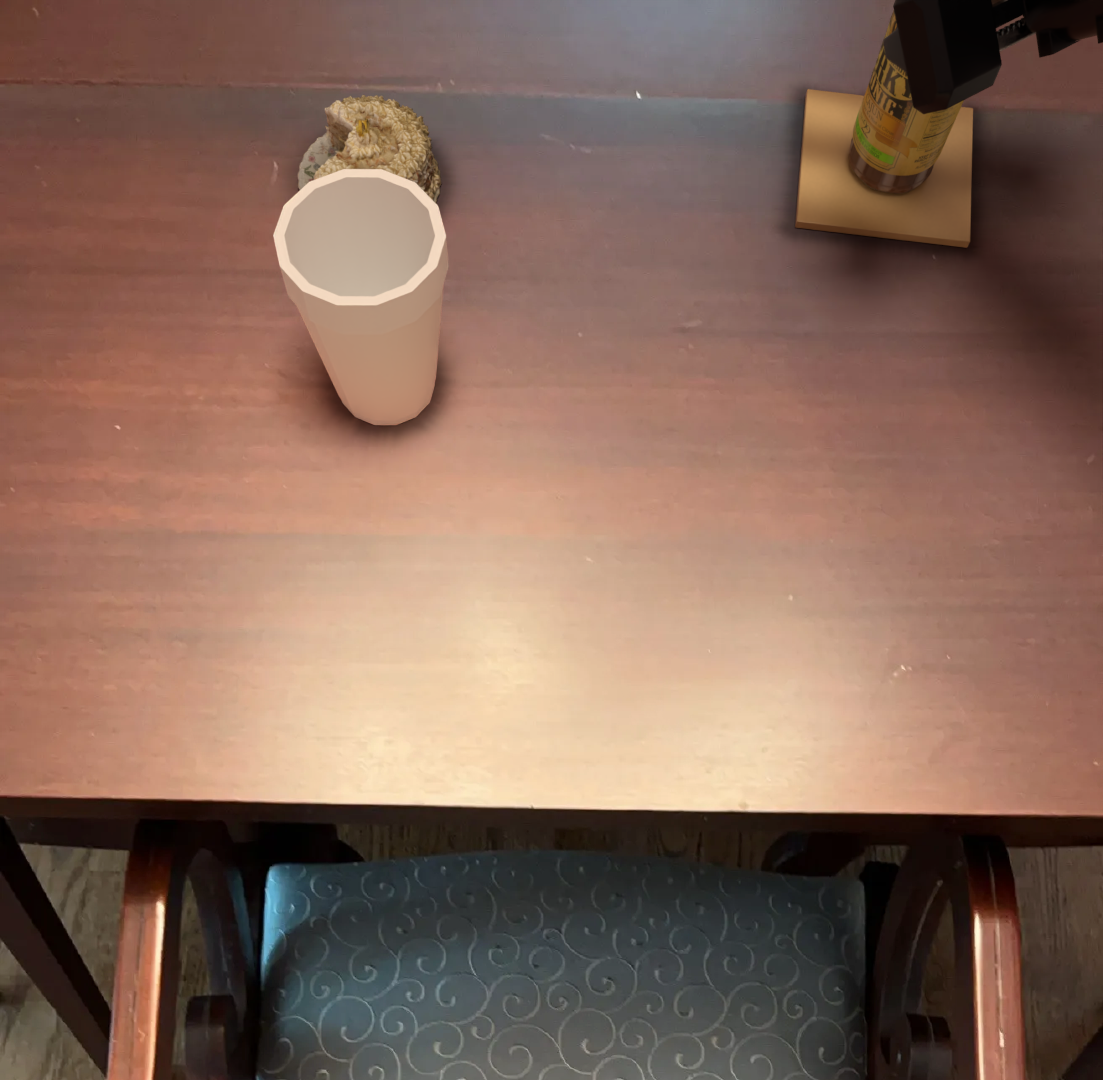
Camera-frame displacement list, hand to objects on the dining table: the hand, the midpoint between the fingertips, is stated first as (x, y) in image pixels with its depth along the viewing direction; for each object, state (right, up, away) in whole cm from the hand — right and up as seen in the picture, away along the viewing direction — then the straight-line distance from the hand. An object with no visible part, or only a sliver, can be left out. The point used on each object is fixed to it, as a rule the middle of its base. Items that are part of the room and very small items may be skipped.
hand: (946, 18), depth 72 cm
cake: (-37, -5, +10) cm, 39 cm away
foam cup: (-35, -21, +5) cm, 41 cm away
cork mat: (-1, -3, +11) cm, 12 cm away
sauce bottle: (0, -3, +11) cm, 12 cm away
